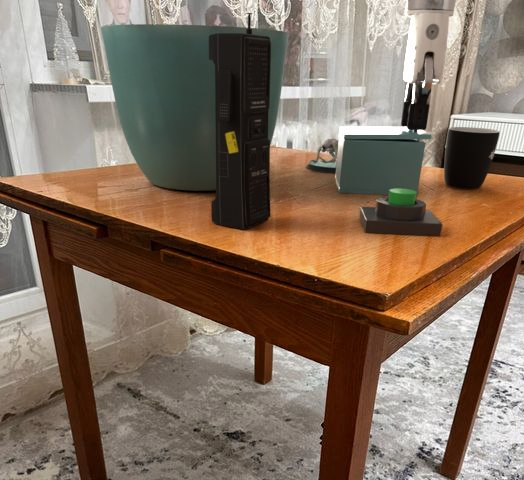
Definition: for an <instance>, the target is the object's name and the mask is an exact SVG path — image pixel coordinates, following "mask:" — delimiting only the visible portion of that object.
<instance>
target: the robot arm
mask: <svg viewBox="0 0 524 480" xmlns="http://www.w3.org/2000/svg"><path fill="white" fill-rule="evenodd" d="M456 1H457V0H406V3H405V11H404V16H405V17H409V18H410V24H409V29H408V38H407V45H406V51H405V59H404V67H403V81H404V82H405V83H406V89H405V94H404V101H403V106H402V114H401V119H400V121H401V122H400V125H401V127H407V129H409V130H424V131H426V130H427V127H428V121H429V120H428V119H429V112H430V107H431V104H430V103H431V98H432V89H433V87H432V86H433V85H440V84H441V83H442V81H443V79H444V71H445V63H446V56H447V55H446V53H447V46H448V38H449V37H448V36H449V24H450V23H449V22H450V18H451V17H454V13H455V7H456ZM409 105H410V107H409V113H408V106H409Z"/></svg>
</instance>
